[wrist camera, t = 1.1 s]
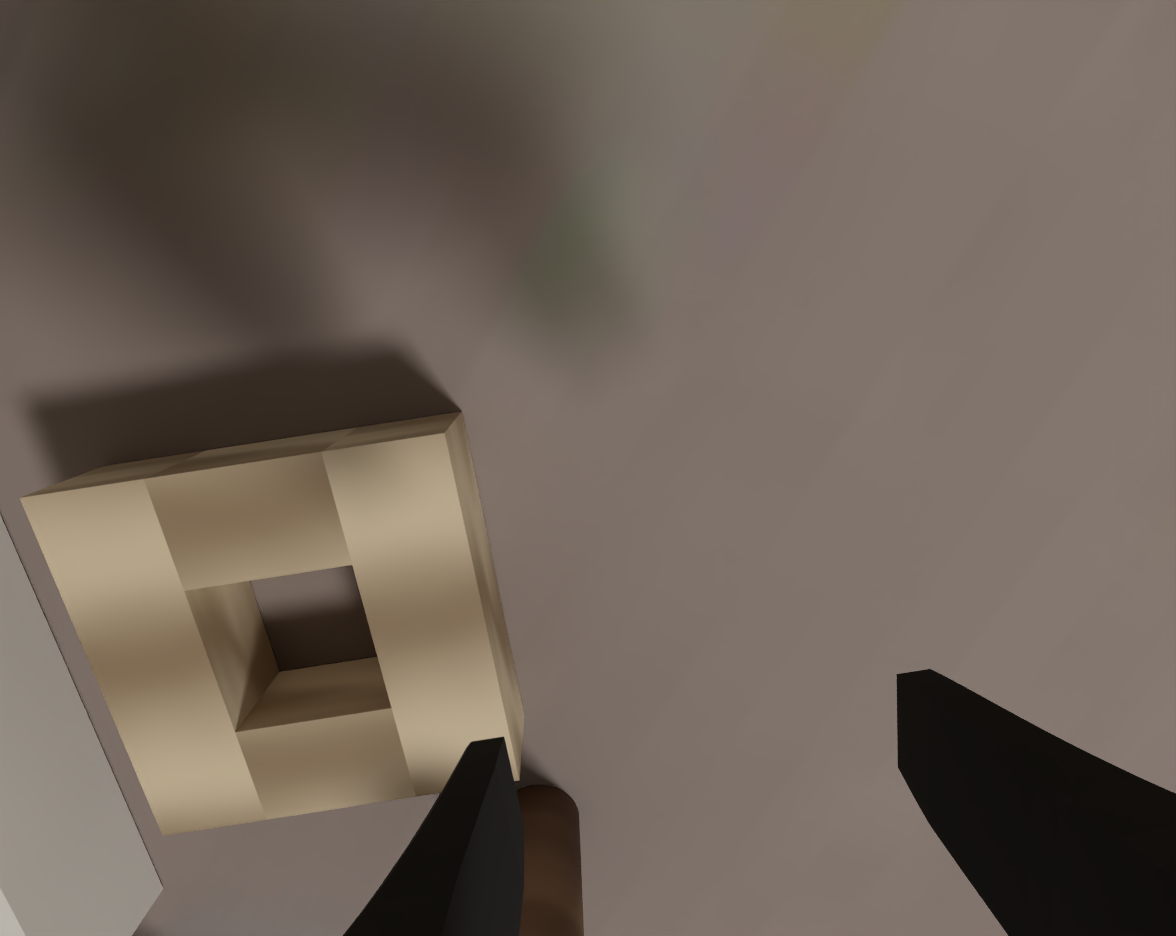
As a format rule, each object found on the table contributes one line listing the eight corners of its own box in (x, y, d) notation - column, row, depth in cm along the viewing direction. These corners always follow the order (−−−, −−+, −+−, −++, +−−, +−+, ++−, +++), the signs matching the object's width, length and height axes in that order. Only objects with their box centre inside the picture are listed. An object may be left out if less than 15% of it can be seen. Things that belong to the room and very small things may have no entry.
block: (524, 715, 22) (519, 780, 19) (215, 763, 22) (162, 835, 19) (461, 411, 19) (444, 432, 16) (102, 466, 19) (19, 497, 16)
